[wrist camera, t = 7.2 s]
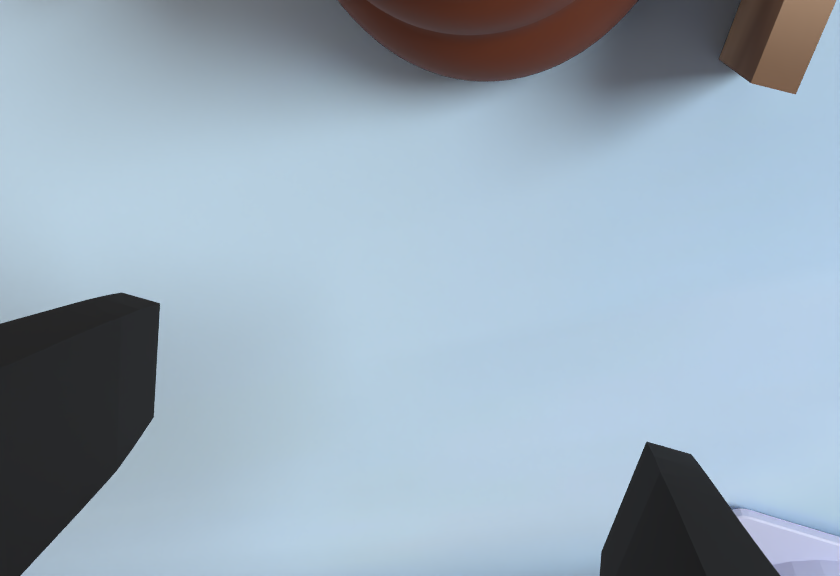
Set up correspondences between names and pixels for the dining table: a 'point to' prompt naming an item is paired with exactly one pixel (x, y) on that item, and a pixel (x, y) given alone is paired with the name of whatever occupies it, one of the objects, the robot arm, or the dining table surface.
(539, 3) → the poop emoji
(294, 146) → the dining table surface
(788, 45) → the brown u-shaped block
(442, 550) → the dining table surface
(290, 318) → the dining table surface
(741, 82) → the dining table surface
